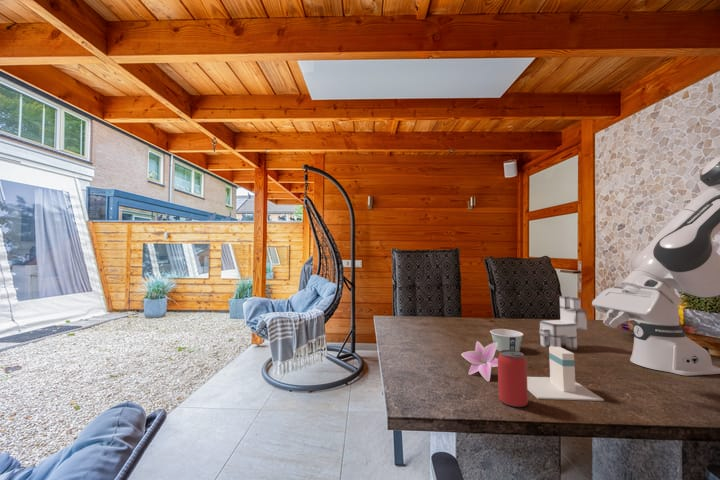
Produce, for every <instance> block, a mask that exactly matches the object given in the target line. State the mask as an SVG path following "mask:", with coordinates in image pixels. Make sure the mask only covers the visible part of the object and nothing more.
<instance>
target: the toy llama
mask: <svg viewBox="0 0 720 480" xmlns="http://www.w3.org/2000/svg"><path fill="white" fill-rule="evenodd" d="M581 303H582V301H581V297H574V296H573V297H570V296H568V295H559V315H560V318H559V319H554V320H553V319H551V320H539V328H538V329H539V331H538V333H539V336H540V338H539V339H540V340H539V341H540V346H541V347H544V348H549V347H561V348H562V347H566V348H565V349H568V350H571V351H572V350H573V351H574V350H575V351H576V350H578V336H577V335H578V334H577V331H583V330H586V331H587V330H588V320H587V319H588V318H587V309H586V310H585V309H582V304H581Z"/></svg>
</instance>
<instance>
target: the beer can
mask: <svg viewBox="0 0 720 480" xmlns="http://www.w3.org/2000/svg"><path fill="white" fill-rule="evenodd" d="M497 359H498V366H497V384H498V399H499V401H500V402H502V403H503V404H505V405H507V406H510V407H515V408H523V407H525V406H527V405H528V403H529V397H528V395H529V394H528V388H527V377H528V363H527V361H526V359H525V354H524V353H523V352H520V351H519V352H518V351H514V350H501V351H499V355H498V357H497Z"/></svg>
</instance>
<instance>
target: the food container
mask: <svg viewBox="0 0 720 480" xmlns="http://www.w3.org/2000/svg"><path fill="white" fill-rule="evenodd" d="M489 333H490V334H491V340H492V343H495V342H497V343H498V345H497V348H496V350H497V351H498V352H500V351H501V350H514V351H518V352H520V351H521V346H522V339H523V336H524V333H523V332H521V331H518V330H513V329H508V328H507V329H505V328H495V329H491V330H490V331H489Z"/></svg>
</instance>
